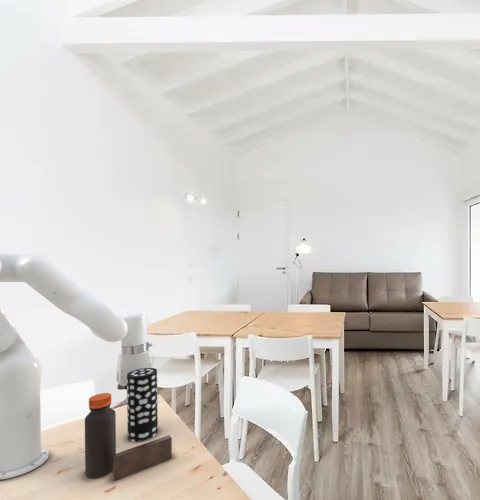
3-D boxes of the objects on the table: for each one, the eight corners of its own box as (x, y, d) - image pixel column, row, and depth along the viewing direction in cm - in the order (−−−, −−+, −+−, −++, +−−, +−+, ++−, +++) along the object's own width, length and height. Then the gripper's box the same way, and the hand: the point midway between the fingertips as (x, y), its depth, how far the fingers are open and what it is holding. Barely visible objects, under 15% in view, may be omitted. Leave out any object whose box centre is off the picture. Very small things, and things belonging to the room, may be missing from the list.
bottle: (113, 474, 93) (112, 399, 93) (81, 481, 91) (80, 404, 90) (118, 460, 99) (117, 389, 99) (89, 466, 97) (88, 393, 97)
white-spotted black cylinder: (144, 443, 108) (143, 378, 108) (121, 440, 110) (120, 376, 109) (163, 429, 116) (163, 368, 116) (141, 426, 118) (141, 367, 118)
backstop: (113, 481, 91) (113, 458, 90) (111, 477, 92) (111, 454, 92) (171, 458, 100) (171, 437, 100) (169, 455, 102) (169, 434, 102)
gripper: (155, 342, 127) (157, 392, 128) (106, 351, 117) (107, 406, 117) (162, 346, 122) (163, 399, 122) (110, 356, 112) (112, 413, 112)
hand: (136, 402), depth 120 cm, fingers closed
